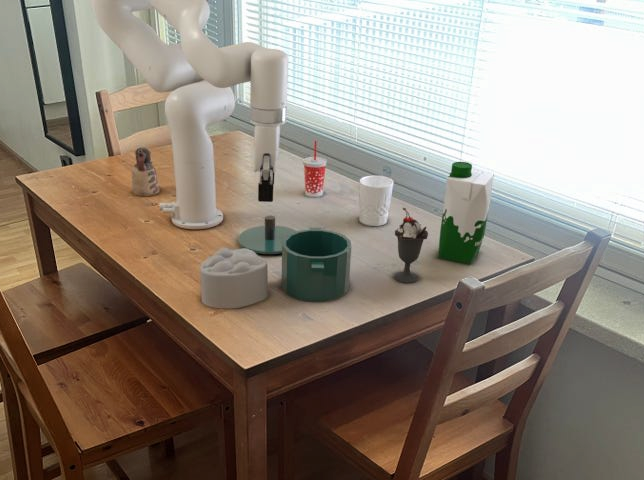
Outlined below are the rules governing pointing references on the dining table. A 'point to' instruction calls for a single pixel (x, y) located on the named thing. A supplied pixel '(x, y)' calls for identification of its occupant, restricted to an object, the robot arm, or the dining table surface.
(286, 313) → the dining table surface
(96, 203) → the dining table surface
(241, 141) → the dining table surface
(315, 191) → the beverage cup
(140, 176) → the figurine
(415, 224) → the sundae
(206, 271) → the lumpy-topped squat cylinder
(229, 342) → the dining table surface
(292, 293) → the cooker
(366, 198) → the white cup
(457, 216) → the milk carton
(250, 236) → the lid
